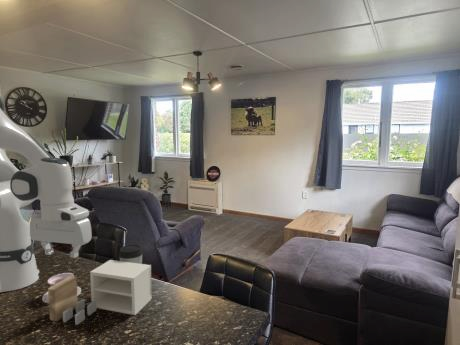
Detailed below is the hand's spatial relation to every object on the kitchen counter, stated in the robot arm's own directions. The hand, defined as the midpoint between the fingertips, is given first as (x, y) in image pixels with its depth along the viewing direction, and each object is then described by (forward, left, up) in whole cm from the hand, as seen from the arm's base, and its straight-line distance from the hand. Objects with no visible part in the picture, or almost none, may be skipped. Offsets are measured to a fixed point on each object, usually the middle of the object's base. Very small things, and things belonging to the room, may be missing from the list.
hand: (61, 255), depth 92 cm
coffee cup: (+11, +20, -19) cm, 30 cm away
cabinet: (+12, +5, -19) cm, 23 cm away
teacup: (-10, +9, -19) cm, 23 cm away
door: (0, 0, -19) cm, 19 cm away
